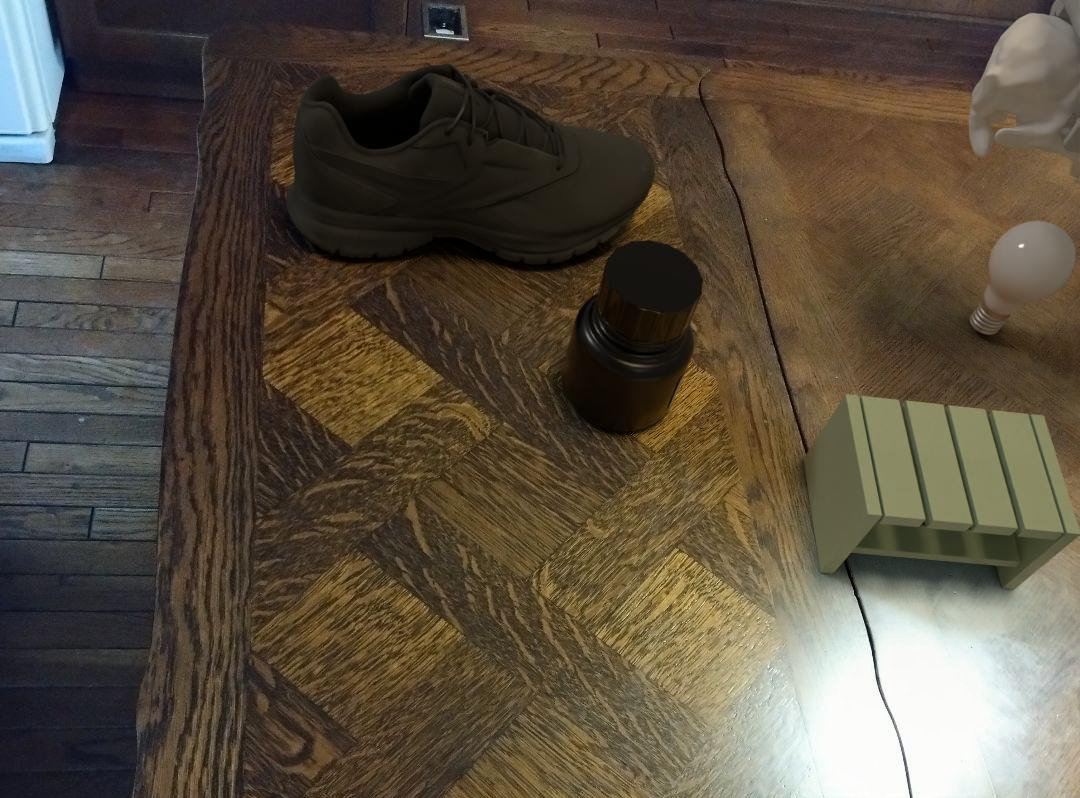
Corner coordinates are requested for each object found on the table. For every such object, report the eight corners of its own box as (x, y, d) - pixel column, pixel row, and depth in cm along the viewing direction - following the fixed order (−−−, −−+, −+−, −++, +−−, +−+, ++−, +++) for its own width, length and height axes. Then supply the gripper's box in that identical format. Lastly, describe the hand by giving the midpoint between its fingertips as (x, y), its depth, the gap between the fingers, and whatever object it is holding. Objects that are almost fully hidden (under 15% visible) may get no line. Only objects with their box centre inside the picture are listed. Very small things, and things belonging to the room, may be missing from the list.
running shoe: (657, 263, 84) (703, 126, 73) (299, 289, 77) (287, 141, 65) (620, 172, 90) (657, 31, 78) (281, 189, 82) (267, 35, 71)
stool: (984, 477, 78) (1044, 415, 71) (1014, 589, 73) (1081, 534, 66) (802, 459, 76) (845, 393, 69) (820, 573, 71) (868, 514, 64)
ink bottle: (696, 415, 76) (747, 306, 66) (602, 454, 73) (640, 346, 63) (628, 328, 80) (667, 212, 70) (536, 361, 77) (562, 244, 67)
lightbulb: (1003, 368, 84) (1082, 273, 75) (935, 331, 85) (1005, 234, 76) (1023, 325, 87) (1102, 229, 78) (958, 290, 88) (1028, 191, 79)
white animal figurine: (1034, -17, 65) (1195, 75, 64) (958, 92, 72) (1101, 176, 72) (1011, 26, 62) (1180, 123, 61) (933, 136, 69) (1083, 224, 68)
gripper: (1324, 7, 50) (1143, 218, 62) (1196, -186, 61) (1062, 26, 73) (1213, -13, 50) (1050, 204, 61) (1103, -205, 60) (982, 13, 72)
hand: (1056, 106), depth 67 cm, fingers closed on white animal figurine, 6 cm apart
